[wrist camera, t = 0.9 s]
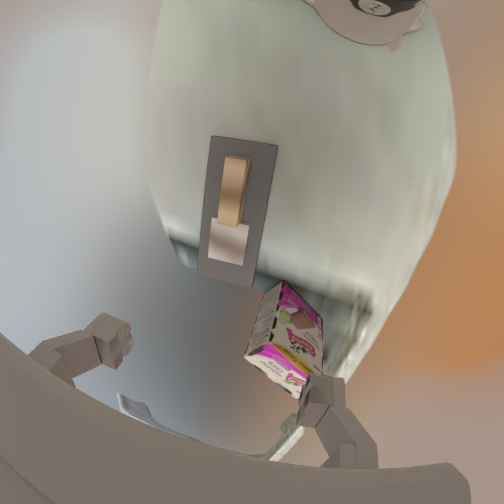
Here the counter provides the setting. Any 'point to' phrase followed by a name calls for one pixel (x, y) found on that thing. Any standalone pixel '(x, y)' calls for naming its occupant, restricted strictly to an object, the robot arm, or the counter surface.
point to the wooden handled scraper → (231, 214)
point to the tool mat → (252, 208)
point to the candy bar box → (286, 339)
